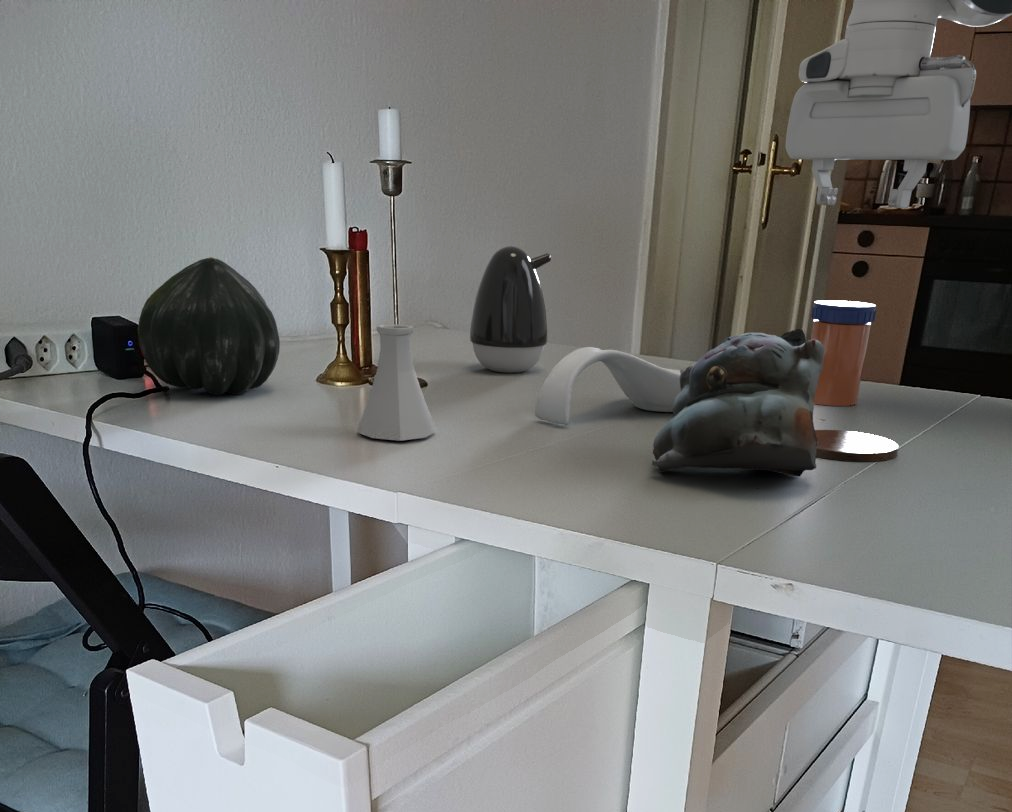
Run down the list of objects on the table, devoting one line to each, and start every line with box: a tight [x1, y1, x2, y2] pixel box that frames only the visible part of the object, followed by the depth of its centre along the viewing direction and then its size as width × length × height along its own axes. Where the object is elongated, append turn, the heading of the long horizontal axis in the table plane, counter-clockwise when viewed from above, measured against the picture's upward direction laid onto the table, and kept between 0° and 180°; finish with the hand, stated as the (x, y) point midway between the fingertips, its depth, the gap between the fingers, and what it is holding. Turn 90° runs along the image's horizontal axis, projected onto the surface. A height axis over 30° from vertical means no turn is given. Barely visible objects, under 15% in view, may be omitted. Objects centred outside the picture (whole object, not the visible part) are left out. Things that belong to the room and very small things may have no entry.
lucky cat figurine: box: [651, 328, 825, 477], centre depth 87 cm, size 15×12×14 cm
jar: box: [810, 319, 872, 407], centre depth 119 cm, size 6×6×10 cm
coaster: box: [815, 429, 899, 463], centre depth 98 cm, size 10×10×1 cm
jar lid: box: [810, 300, 877, 324], centre depth 117 cm, size 7×7×2 cm
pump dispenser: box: [469, 245, 552, 374], centre depth 132 cm, size 10×10×15 cm
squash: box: [137, 257, 281, 396], centre depth 113 cm, size 14×15×15 cm
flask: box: [356, 323, 437, 442], centre depth 96 cm, size 7×7×10 cm
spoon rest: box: [534, 346, 681, 425], centre depth 109 cm, size 24×12×7 cm, turn 131°
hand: (860, 206), depth 112 cm, fingers open, 8 cm apart
